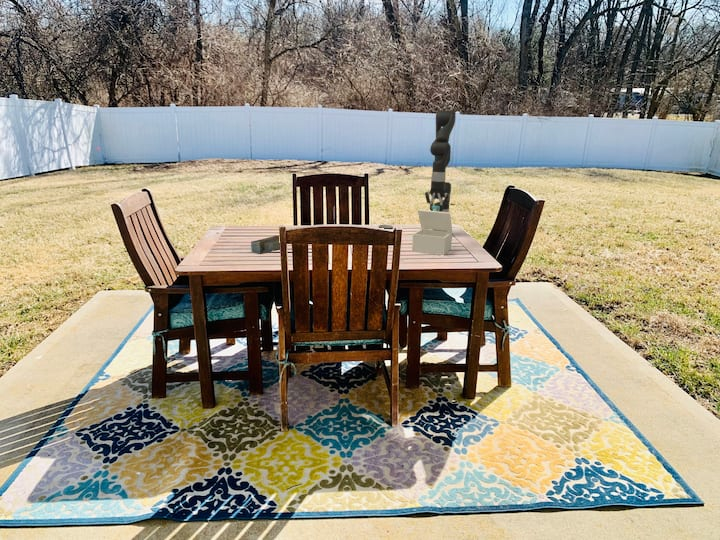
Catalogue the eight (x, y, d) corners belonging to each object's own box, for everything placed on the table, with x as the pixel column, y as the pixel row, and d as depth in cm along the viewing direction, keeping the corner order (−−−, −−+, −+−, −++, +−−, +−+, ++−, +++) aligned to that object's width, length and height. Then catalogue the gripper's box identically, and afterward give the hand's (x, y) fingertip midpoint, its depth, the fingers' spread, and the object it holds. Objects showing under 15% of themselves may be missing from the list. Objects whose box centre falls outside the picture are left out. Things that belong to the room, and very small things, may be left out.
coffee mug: (374, 242, 296) (375, 225, 293) (385, 240, 301) (386, 224, 298) (387, 246, 287) (388, 229, 284) (398, 244, 292) (399, 227, 289)
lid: (421, 228, 288) (424, 221, 291) (452, 231, 281) (454, 224, 284) (417, 210, 276) (420, 202, 279) (449, 213, 269) (452, 205, 272)
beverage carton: (250, 251, 272) (250, 240, 270) (277, 245, 286) (277, 234, 284) (260, 254, 267) (259, 242, 266) (287, 248, 282) (286, 236, 280)
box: (420, 245, 291) (421, 228, 288) (450, 249, 284) (452, 232, 281) (412, 251, 278) (413, 234, 275) (443, 255, 271) (445, 237, 268)
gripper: (452, 180, 274) (450, 211, 278) (427, 178, 279) (425, 209, 284) (449, 181, 267) (447, 213, 272) (423, 179, 273) (421, 211, 277)
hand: (436, 211), depth 278 cm, fingers closed on lid, 4 cm apart
